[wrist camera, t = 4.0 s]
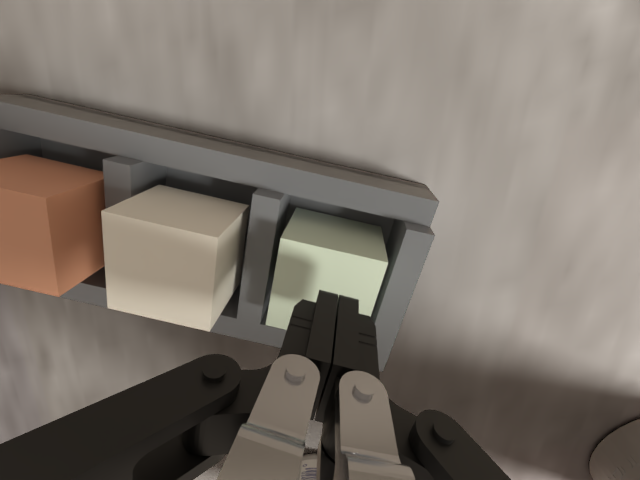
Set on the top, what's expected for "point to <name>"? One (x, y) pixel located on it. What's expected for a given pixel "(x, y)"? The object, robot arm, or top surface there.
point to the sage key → (326, 263)
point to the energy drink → (308, 467)
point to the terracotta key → (49, 224)
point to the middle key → (173, 255)
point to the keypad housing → (234, 185)
